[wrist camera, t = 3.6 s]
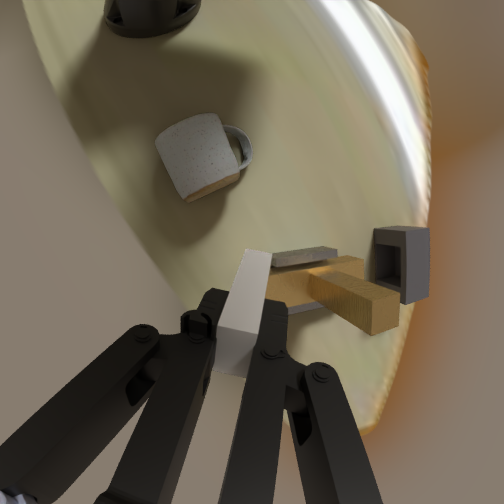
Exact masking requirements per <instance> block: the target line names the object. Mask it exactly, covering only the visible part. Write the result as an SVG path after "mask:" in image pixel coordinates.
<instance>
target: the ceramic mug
mask: <svg viewBox="0 0 504 504" xmlns="http://www.w3.org/2000/svg"><path fill="white" fill-rule="evenodd" d="M225 132H229V133H231V134H233V135H235V136H236V137H237V139H239V141H240V144H241V147H242V150H243V155H244V161H243V163H242V165H241V166H239V167H238V163H237V160H236V158H235V155H234V153H233V151H232V149H231V147H230V144H229V142H228V139H227V136H226V134H225ZM155 145H156V148H157V150H158V152H159V154H160V156H161V158H162V161H163V163H164V165H165V167H166V169H167V171H168V173H169V175H170V177H171V179H172V182H173V184H174V186H175V188H176V190H177V192H178V193H179V195H180V196H181V197H182V199H183V200H184V201H186V202H192V201H195V200H197V199H199V198H201V197H203V196H205V195H208V194H210V193H212V192H214V191H216V190H218V189H221V188H223V187H225V186H227V185H229V184H231V183H233V182H236V181H237V180H238V179H239V176H240V170H242V169H244V168H245V167H247V166H248V164H249V163H250V162H251V160H252V156H253V149H252V144H251V142H250V139H249V137H248V136H247V135H246V133H245V132H244V131H242V130H241V129H239V128H238V127H235V126H231V125H222V124H221V121H220V119H219V117H218V115H217V114H215V113H204V114H198V115H194V116H192V117H189V118H186V119H184V120H182V121H180V122H178V123H176V124H173V125H172V126H170V127H168V128H167V129H165V130H164V131H163V132H162V133H161V134H159V135H158V136H157V138H156V140H155Z"/></svg>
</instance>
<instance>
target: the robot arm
mask: <svg viewBox="0 0 504 504" xmlns="http://www.w3.org/2000/svg"><path fill="white" fill-rule="evenodd" d="M200 6H201V0H105V5H104V17H105V20H106V23H107V25H108V27H109V28H110V29H111V30H112V31H113V32H114V33H116V34H118V35H121V36H125V37H131V38H145V37H152V36H157V35H161V34H165V33H168V32H170V31H173V30H175V29H177V28H179V27H181V26H183V25H184V24H186V23H187V22H189V21H190V20H191V19H192V18H193V17H194V16H195V15H196V14H197V12H198V11H199V9H200ZM271 259H272V254H271V253H267V252H262V251H257V250H252V249H247V248H246V250H245V252H244V255H243V258H242V260H241V263H240V266H239V268H238V271H237V274H236V276H235V279H234V282H233V284H232V287H231V290H230V292H229V291H224V290H220V289H215V288H211V289H210V290H208V291H207V292H206V293H205V294H204V296H203V298H202V301H201V302H200V304H199V306H198V308H197V310H190V311H187V312H186V313H184V314H183V315H182V316H181V333H179V334H173V335H163V334H159V333H158V330H157V329H156V328H154V327H153V326H150V325H146V324H140V325H136V326H133V327H132V328H130V329H129V330H128V331H127V332H125V333H124V334H123V335H122V336H121V337H120V338H119V339H117V340H116V341H115V342H114V343H113V344H112V345H110V346H109V347H108V348H107V349H106V350H105V351H104V352H103V353H101V354H100V355H99V356H98V357H97V358H96V359H95V360H93V361H92V362H91V363H90V364H89V365H88V366H87V367H86V368H84V369H83V370H82V371H81V372H80V373H79V374H78V375H77V376H75V377H74V378H73V379H72V380H71V381H70V382H69V383H68V384H66V385H65V386H64V387H63V388H62V389H61V390H60V391H59V392H58V393H57V394H55V395H54V396H53V397H52V398H51V399H50V400H49V401H48V402H47V403H46V404H44V406H42V407H41V408H40V409H39V410H38V411H37V412H36V413H35V414H34V415H32V416H31V417H30V418H29V419H28V420H27V421H26V422H25V423H24V424H23V425H22V426H21V427H20V428H19V429H18V430H16V432H14V433H13V434H12V435H11V436H10V437H9V438H8V439H7V440H6V441H5V442H4V443H3V444H2V445H1V446H0V504H52V503H53V502H55V501H56V500H57V499H58V498H59V497H60V496H61V495H62V494H63V493H64V492H65V491H66V490H67V489H68V488H69V487H70V486H71V485H72V484H73V483H74V481H75V480H76V479H77V478H78V477H79V476H80V475H81V474H82V473H83V472H84V471H85V469H86V468H87V467H88V466H89V465H90V464H91V462H93V461H94V459H95V458H96V457H97V456H98V455H99V454H100V453H101V452H102V450H103V449H104V448H105V447H106V446H107V445H108V444H109V442H110V441H111V440H112V439H113V438H114V437H115V436H116V435H117V434H118V432H119V431H120V430H121V429H122V428H123V427H124V425H126V423H127V422H128V421H129V420H130V419H131V418H132V417H133V415H134V414H135V413H136V412H137V411H138V410H139V409H140V407H141V406H142V405H143V404H144V403H145V402H146V400H147V399H148V398H149V399H148V401H147V403H146V405H145V407H144V409H143V412H142V414H141V416H140V418H139V420H138V423H137V425H136V427H135V429H134V431H133V434H132V435H131V438H130V440H129V442H128V444H127V447H126V449H125V451H124V453H123V455H122V458H121V460H120V462H119V464H118V467H117V469H116V471H115V474H114V476H113V478H112V481H111V483H110V485H109V487H108V489H107V490H106V491H105V492H103V493H102V494H100V495H99V496H98V498H97V499H96V500H95V502H94V504H171V501H172V498H173V495H174V492H175V489H176V486H177V483H178V479H179V477H180V473H181V470H182V467H183V464H184V461H185V458H186V454H187V451H188V448H189V445H190V442H191V439H192V436H193V433H194V429H195V426H196V423H197V420H198V417H199V414H200V410H201V407H202V404H203V401H204V398H205V395H206V392H207V388H208V386H209V383H210V376H211V371H212V368H213V371H217V372H221V373H225V374H229V375H234V376H239V377H243V378H246V383H245V387H244V391H243V395H242V400H241V405H240V410H239V414H238V419H237V424H236V428H235V432H234V437H233V441H232V446H231V450H230V454H229V459H228V463H227V467H226V472H225V476H224V480H223V484H222V488H221V493H220V497H219V501H218V504H273V497H274V490H275V482H276V474H277V466H278V457H279V449H280V440H281V431H282V421H283V411H284V409H286V410H287V414H288V418H289V423H290V428H291V432H292V438H293V443H294V447H295V452H296V457H297V461H298V467H299V471H300V476H301V481H302V486H303V491H304V496H305V500H306V504H383V502H382V499H381V496H380V493H379V489H378V486H377V484H376V480H375V478H374V474H373V471H372V468H371V466H370V463H369V459H368V456H367V453H366V451H365V448H364V445H363V442H362V439H361V436H360V433H359V431H358V428H357V425H356V422H355V419H354V417H353V414H352V411H351V409H350V406H349V403H348V400H347V398H346V395H345V392H344V390H343V387H342V384H341V382H340V379H339V376H338V374H337V372H336V371H335V369H334V368H333V367H331V366H330V365H328V364H326V363H322V362H315V363H311V364H310V365H308V366H306V365H303V364H301V363H299V362H297V361H295V360H294V359H293V358H291V357H290V355H289V354H288V352H287V350H286V340H287V324H288V308H287V306H286V304H285V302H281V301H275V300H270V299H266V298H265V293H266V287H267V282H268V276H269V270H270V265H271Z"/></svg>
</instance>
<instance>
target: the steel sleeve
mask: <svg viewBox="0 0 504 504" xmlns="http://www.w3.org/2000/svg"><path fill="white" fill-rule="evenodd" d="M336 257H338V256H337V249H333V248H329V247H324V246H321V247H314V248H307V249H300V250H293V251H287V252H280V253H273V254H272V259H271V265H270V268H273V267H282V266H288V265H294V264H300V263H306V262H313V261H319V260H325V259H331V258H336ZM322 307H325V306H323V305H321V304H320V303H318V302H317V301H315V302H311V303H306V304H301V305H297V306H292V307H287V308H288V315H290V314H294V313H299V312H304V311H308V310H313V309H317V308H322Z"/></svg>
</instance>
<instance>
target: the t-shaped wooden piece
mask: <svg viewBox="0 0 504 504" xmlns="http://www.w3.org/2000/svg"><path fill="white" fill-rule="evenodd" d="M265 298H266V299H270V300H275V301H281V302H285V304H286V306H287V307H292V306H297V305H301V304H306V303H311V302H315V301H317V302H318V303H320V304H321V305H323V306H325V307H326V308H328V309H329V310H331V311H332V312H334V313H336V314H337V315H339V316H340V317H342V318H343V319H345V320H347V321H348V322H350V323H351V324H353V325H355V326H356V327H358V328H359V329H361V330H362V331H364V332H366V333H367V334H369V335H370V336H373V335H376V334H378V333H381V332H384V331H387V330H390V329H392V328H395V327H398V325H399V309H400V293H399V292H396V291H393V290H391V289H388V288H385V287H382V286H379V285H377V284H374V283H371V282H368V281H365V280H364V259H360V258H356V257H352V256H348V255H346V256H340V257H336V258H331V259H325V260H319V261H313V262H306V263H300V264H294V265H288V266H282V267H273V268H270V270H269V276H268V282H267V287H266V293H265Z"/></svg>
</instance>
